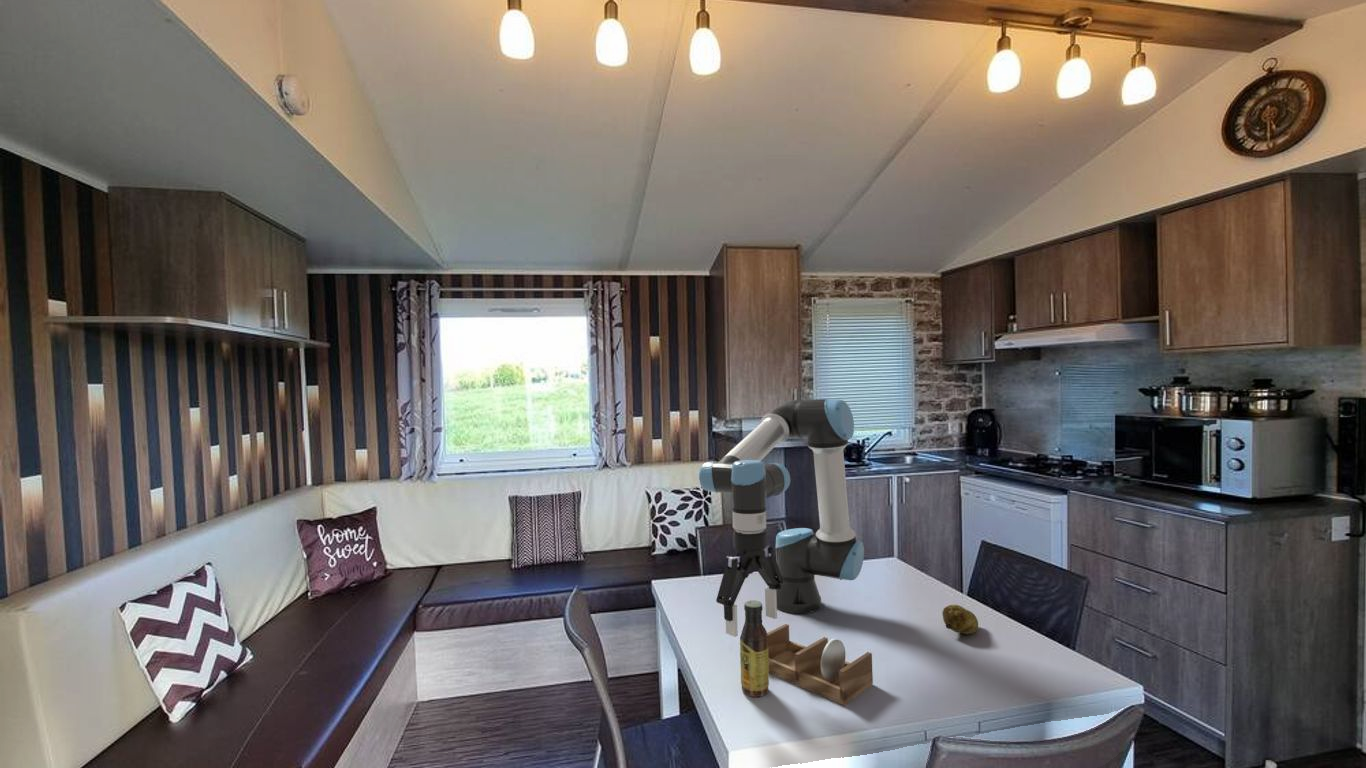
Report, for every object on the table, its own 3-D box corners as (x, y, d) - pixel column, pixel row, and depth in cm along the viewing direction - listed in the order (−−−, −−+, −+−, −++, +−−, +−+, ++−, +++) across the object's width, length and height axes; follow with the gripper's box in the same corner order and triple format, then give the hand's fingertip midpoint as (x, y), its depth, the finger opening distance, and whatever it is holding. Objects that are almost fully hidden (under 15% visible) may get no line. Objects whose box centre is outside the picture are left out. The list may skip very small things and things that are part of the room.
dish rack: (756, 667, 137) (755, 626, 137) (786, 651, 145) (785, 612, 145) (844, 705, 119) (842, 658, 120) (872, 684, 128) (871, 639, 128)
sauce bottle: (738, 685, 129) (736, 598, 129) (765, 683, 130) (762, 596, 130) (744, 700, 123) (741, 608, 123) (772, 698, 123) (769, 607, 123)
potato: (992, 634, 151) (991, 604, 152) (958, 644, 146) (957, 613, 146) (965, 623, 159) (964, 594, 159) (932, 632, 154) (931, 602, 154)
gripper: (724, 543, 115) (726, 648, 114) (796, 523, 132) (799, 614, 131) (698, 537, 121) (700, 637, 120) (771, 518, 138) (773, 606, 137)
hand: (752, 625), depth 126 cm, fingers open, 13 cm apart
